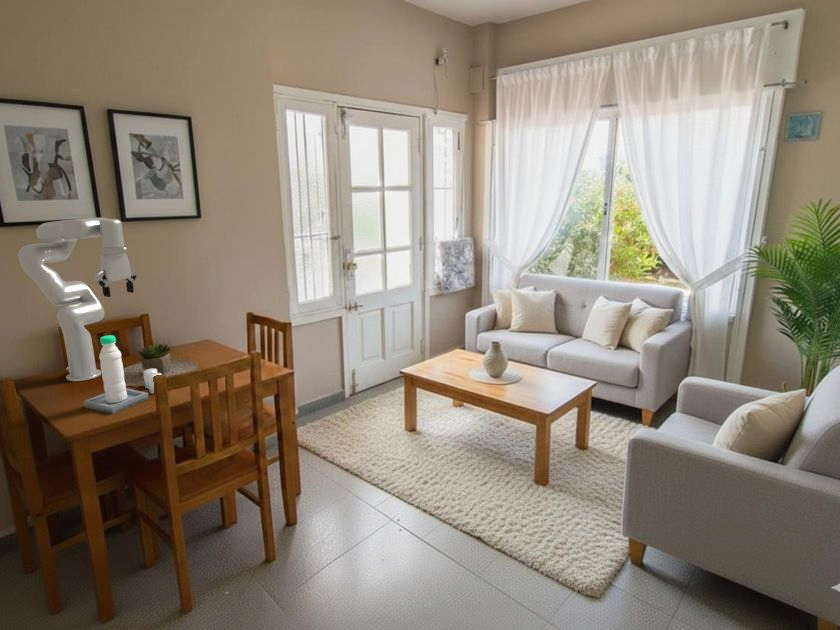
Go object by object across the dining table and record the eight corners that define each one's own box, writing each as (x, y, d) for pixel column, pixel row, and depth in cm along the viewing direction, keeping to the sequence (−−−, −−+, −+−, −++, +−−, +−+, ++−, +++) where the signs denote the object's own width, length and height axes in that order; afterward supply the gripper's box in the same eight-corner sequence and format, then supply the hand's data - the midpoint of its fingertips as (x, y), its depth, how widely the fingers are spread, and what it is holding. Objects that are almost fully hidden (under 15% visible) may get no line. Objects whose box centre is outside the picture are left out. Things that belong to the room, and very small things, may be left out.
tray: (84, 407, 189) (83, 401, 189) (121, 392, 203) (120, 387, 202) (112, 413, 183) (111, 407, 183) (148, 398, 197) (148, 392, 196)
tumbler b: (142, 387, 208) (140, 371, 206) (153, 383, 212) (150, 367, 210) (151, 389, 206) (149, 373, 204) (161, 385, 210) (159, 369, 209)
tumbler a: (146, 392, 203) (144, 376, 201) (157, 388, 207) (155, 372, 206) (155, 394, 201) (153, 377, 199) (166, 390, 205) (164, 373, 204)
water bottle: (117, 404, 189) (108, 339, 183) (101, 403, 190) (91, 338, 184) (131, 397, 196) (123, 334, 190) (115, 395, 197) (106, 333, 191)
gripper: (128, 248, 208) (132, 289, 212) (85, 252, 193) (91, 297, 197) (140, 249, 205) (145, 291, 209) (98, 254, 190) (104, 299, 194)
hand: (119, 294), depth 203 cm, fingers open, 9 cm apart
